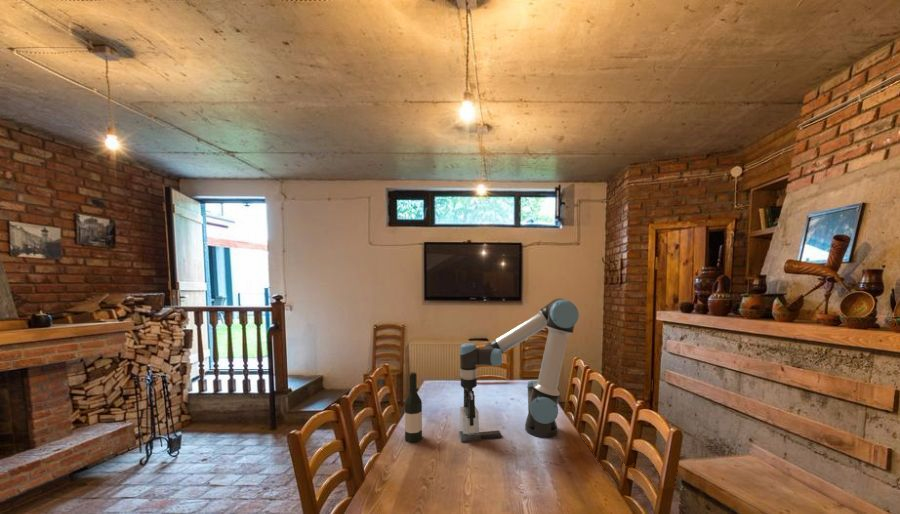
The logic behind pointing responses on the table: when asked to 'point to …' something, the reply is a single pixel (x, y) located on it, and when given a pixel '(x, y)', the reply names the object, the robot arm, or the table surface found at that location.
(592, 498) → the table surface
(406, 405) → the wine bottle
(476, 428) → the grey rectangular block
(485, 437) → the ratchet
